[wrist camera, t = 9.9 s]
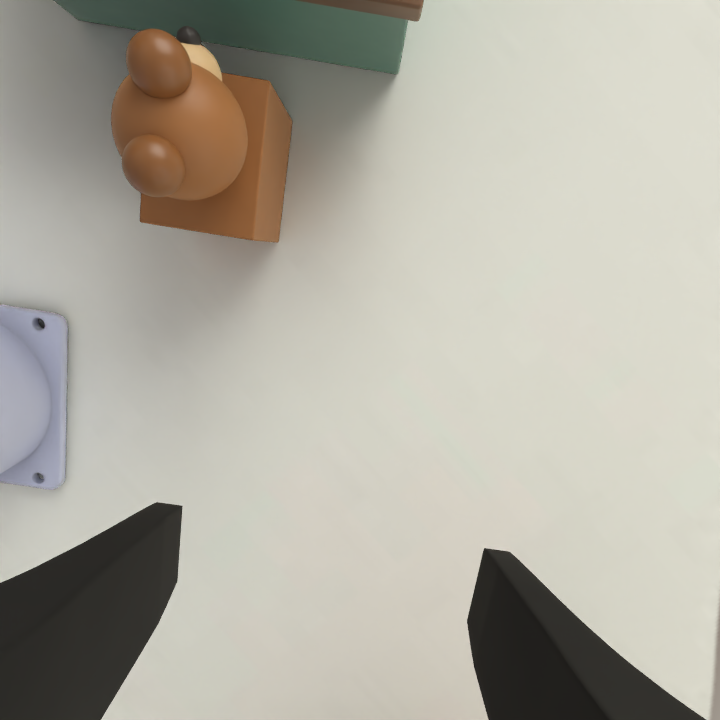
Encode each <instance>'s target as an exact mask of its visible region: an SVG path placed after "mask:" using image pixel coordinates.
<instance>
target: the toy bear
mask: <svg viewBox="0 0 720 720" xmlns="http://www.w3.org/2000/svg"><path fill="white" fill-rule="evenodd" d="M176 38H177V39H176ZM176 38H175V37H174V36H172V35H171V34H169V33H167V32H165V31H163V30H159V29H145V30H142V31H140V32H138V33H137V34H135V35H134V36H133V37H132V39H131V40H130V42H129V44H128V46H127V50H126V64H127V69H128V71H129V75H128V76H127V77H126V78H125V79H124V80H123V82H122V83H121V85H120V86H119V88H118V90H117V92H116V95H115V97H114V101H113V105H112V112H111V125H112V132H113V137H114V141H115V144H116V147H117V149H118V152H119V153H120V155H121V157H122V168H123V172H124V174H125V176H126V178H127V180H128V181H129V183H130V184H131V185H132V186H133V187H134V188H135V189H136V190H138V191H139V192H141V207H140V222H142V223H148V224H154V225H160V226H167V227H173V228H179V229H185V230H191V231H197V232H204V233H210V234H216V235H222V236H228V237H234V238H241V239H247V240H254V241H265V242H276V243H277V242H279V234H280V225H281V217H282V208H283V199H284V191H285V182H286V173H287V165H288V156H289V147H290V139H291V130H292V119H291V118H290V116H289V114H288V112H287V111H286V109H285V107H284V105H283V104H282V102H281V100H280V98H279V97H278V95H277V93H276V91H275V90H274V88H273V86H272V84H271V83H270V81H268V80H262V79H257V78H251V77H245V76H239V75H233V74H227V73H221V70H220V67H219V65H218V63H217V61H216V59H215V58H214V56H213V55H212V54H211V52H209V51H208V50H207V49H206V48H205V47H204V46H202V45H201V38H200V35H199V33H198V32H197V31H196V30H195V29H194V28H192V27H190V26H183V27H181V28H180V29H179V30H178V32H177V36H176Z"/></svg>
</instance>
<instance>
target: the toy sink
mask: <svg viewBox="0 0 720 720" xmlns="http://www.w3.org/2000/svg"><path fill="white" fill-rule="evenodd" d="M54 1H55V2H56V3H57V4H59V5H60V6H61V7H62V8H64V9H65V10H66V11H67V12H69V13H70V14H71V15H72V16H74V17H75V18H76V19H78V20H82V21H88V22H93V23H99V24H105V25H111V26H117V27H123V28H128V29H134V30H140V31H142V30H145V29H159V30H163V31H165V32H167V33H169V34H171V35H172V36H175V37H176V36H177V32H178V30H179V29H180V28H181V27H183V26H190V27H192V28H194V29H195V30H196V31H197V32H198V33H199V35H200V38H201V41H204V42H210V43H216V44H222V45H228V46H234V47H239V48H245V49H251V50H257V51H263V52H269V53H275V54H280V55H286V56H292V57H298V58H304V59H310V60H315V61H321V62H327V63H333V64H339V65H345V66H350V67H356V68H362V69H368V70H374V71H380V72H386V73H391V74H398V73H399V68H400V62H401V57H402V51H403V46H404V40H405V35H406V29H407V23H408V20H411V21H419V19H420V16H421V12H422V7H423V1H424V0H54Z"/></svg>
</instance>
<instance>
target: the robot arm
mask: <svg viewBox="0 0 720 720" xmlns="http://www.w3.org/2000/svg"><path fill="white" fill-rule="evenodd" d="M39 318H40V319H42V320H43V321H44V324H45V326H44V328H41V326H40V325H39V322H38V321H39ZM67 352H68V324H67V321H66V319H65V318H64V317H63V316H62V315H60V314H58V313H53V312H47V311H40V310H34V309H28V308H21V307H15V306H8V305H2V304H0V482H2V483H9V484H16V485H22V486H29V487H36V488H43V489H49V490H52V489H56V488H58V487H60V486H61V485H62V484H63V483H64V482H65V471H66V411H67ZM38 473H40V474H41V475H42V476H43V477H44V479H41V478H40V477H39V475H38ZM181 518H182V506H179V505H172V504H165V503H158V502H156V503H154V504H152V505H150V506H148V507H146V508H145V509H143V510H141V511H139V512H137V513H136V514H134V515H132V516H130V517H129V518H127V519H125V520H123V521H122V522H120V523H118V524H116V525H115V526H113V527H111V528H109V529H107V530H106V531H104V532H102V533H100V534H98V535H97V536H95V537H93V538H91V539H89V540H88V541H86V542H84V543H82V544H80V545H78V546H76V547H74V548H72V549H70V550H68V551H66V552H65V553H63V554H61V555H59V556H57V557H55V558H53V559H51V560H49V561H47V562H45V563H43V564H41V565H39V566H37V567H35V568H33V569H31V570H28V571H26V572H24V573H22V574H20V575H18V576H15V577H13V578H11V579H9V580H6V581H4V582H2V583H0V720H101V719H102V717H103V715H104V714H105V712H106V710H107V709H108V707H109V705H110V704H111V702H112V700H113V699H114V697H115V695H116V694H117V692H118V690H119V689H120V687H121V685H122V684H123V682H124V680H125V679H126V677H127V675H128V674H129V672H130V670H131V669H132V667H133V665H134V664H135V662H136V660H137V659H138V657H139V655H140V654H141V652H142V650H143V649H144V647H145V645H146V643H147V642H148V640H149V638H150V637H151V635H152V633H153V632H154V630H155V628H156V626H157V625H158V623H159V621H160V619H161V616H162V614H163V612H164V610H165V608H166V606H167V603H168V601H169V599H170V597H171V594H172V592H173V590H174V587H175V585H176V583H177V578H178V563H179V548H180V533H181ZM467 623H468V630H469V638H470V645H471V651H472V657H473V663H474V668H475V672H476V675H477V679H478V683H479V686H480V690H481V694H482V697H483V701H484V705H485V708H486V712H487V715H488V719H489V720H706V719H704V718H703V717H701V716H700V715H698V714H697V713H695V712H694V711H693V710H691V709H690V708H688V707H687V706H685V705H684V704H683V703H681V702H680V701H678V700H677V699H676V698H674V697H673V696H672V695H670V694H669V693H667V692H666V691H665V690H663V689H662V688H661V687H660V686H658V685H657V684H656V683H654V682H653V681H652V680H651V679H649V678H648V677H647V676H645V675H644V674H643V673H642V672H640V671H639V670H638V669H636V668H635V667H634V666H633V665H631V664H630V663H629V662H628V661H626V660H625V659H624V658H623V657H622V656H620V655H619V654H618V653H617V652H616V651H615V650H613V649H612V648H611V647H610V646H609V645H608V644H607V643H605V642H604V641H603V640H602V639H601V638H600V637H599V636H597V635H596V634H595V633H594V632H593V631H592V630H591V629H590V628H588V627H587V626H586V625H585V624H584V623H583V622H582V621H581V620H580V619H579V618H578V617H577V616H575V615H574V614H573V613H572V612H571V611H570V610H569V609H568V608H567V607H566V606H565V605H564V604H563V603H562V602H561V601H560V600H559V599H558V598H557V597H556V596H555V595H554V594H553V593H552V592H551V591H550V590H549V589H548V588H547V587H546V586H545V585H544V584H543V583H542V582H541V581H540V580H539V579H538V578H537V577H536V576H535V575H534V574H533V573H532V572H530V571H529V570H528V569H527V568H526V567H525V566H524V565H523V564H522V563H521V562H520V561H519V560H518V559H517V558H516V557H515V556H514V555H513V554H511V553H510V552H507V551H500V550H493V549H486V548H484V551H483V555H482V560H481V564H480V568H479V572H478V577H477V581H476V585H475V589H474V594H473V598H472V602H471V607H470V611H469V615H468V619H467Z"/></svg>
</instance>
